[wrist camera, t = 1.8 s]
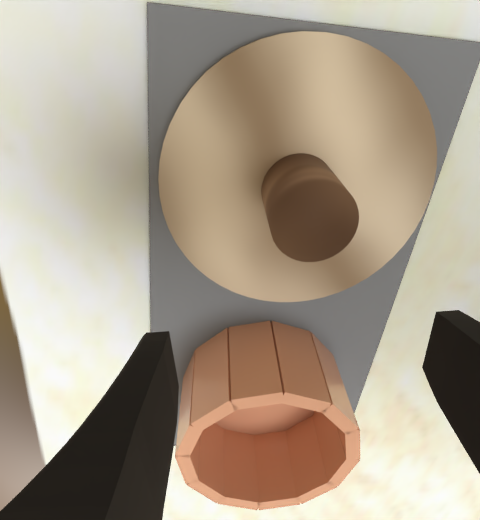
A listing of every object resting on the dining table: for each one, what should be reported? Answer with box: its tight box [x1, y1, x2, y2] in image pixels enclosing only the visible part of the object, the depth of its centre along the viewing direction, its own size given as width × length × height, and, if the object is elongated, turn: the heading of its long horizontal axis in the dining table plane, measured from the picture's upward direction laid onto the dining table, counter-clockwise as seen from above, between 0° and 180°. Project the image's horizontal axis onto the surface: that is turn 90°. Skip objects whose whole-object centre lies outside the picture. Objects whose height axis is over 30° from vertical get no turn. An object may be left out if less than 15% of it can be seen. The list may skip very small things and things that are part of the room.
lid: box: [158, 31, 437, 302], centre depth 16 cm, size 12×12×4 cm
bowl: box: [175, 321, 360, 510], centre depth 22 cm, size 9×9×5 cm
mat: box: [147, 2, 480, 446], centre depth 21 cm, size 25×13×1 cm, turn 174°
